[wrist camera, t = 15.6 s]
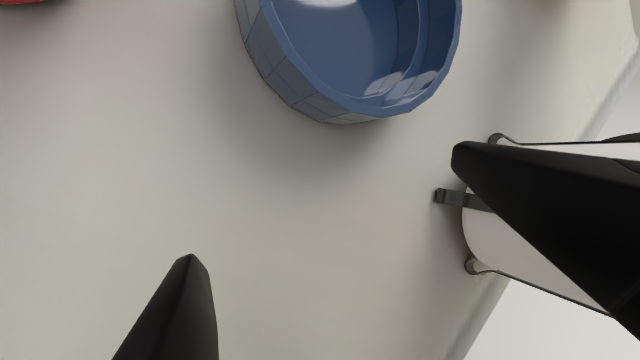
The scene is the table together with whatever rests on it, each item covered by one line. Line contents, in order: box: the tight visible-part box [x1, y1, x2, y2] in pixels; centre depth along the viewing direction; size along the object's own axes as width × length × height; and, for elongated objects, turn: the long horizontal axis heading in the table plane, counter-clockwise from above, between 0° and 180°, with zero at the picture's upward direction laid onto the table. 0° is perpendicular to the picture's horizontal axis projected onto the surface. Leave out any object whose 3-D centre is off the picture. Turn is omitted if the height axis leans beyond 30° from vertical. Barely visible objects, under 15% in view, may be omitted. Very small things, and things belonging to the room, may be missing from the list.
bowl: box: [234, 0, 462, 125], centre depth 16 cm, size 14×14×4 cm
